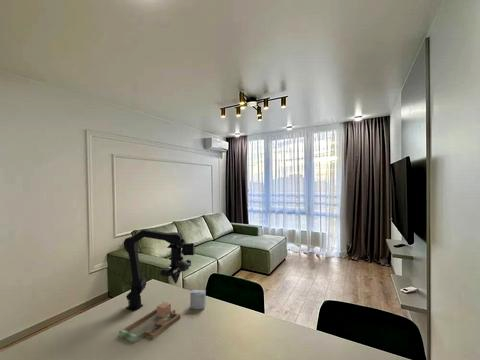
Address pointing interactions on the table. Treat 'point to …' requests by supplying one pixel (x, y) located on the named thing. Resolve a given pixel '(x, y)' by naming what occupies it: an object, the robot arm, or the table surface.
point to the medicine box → (198, 299)
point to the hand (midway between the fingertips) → (175, 283)
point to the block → (163, 309)
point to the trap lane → (159, 325)
